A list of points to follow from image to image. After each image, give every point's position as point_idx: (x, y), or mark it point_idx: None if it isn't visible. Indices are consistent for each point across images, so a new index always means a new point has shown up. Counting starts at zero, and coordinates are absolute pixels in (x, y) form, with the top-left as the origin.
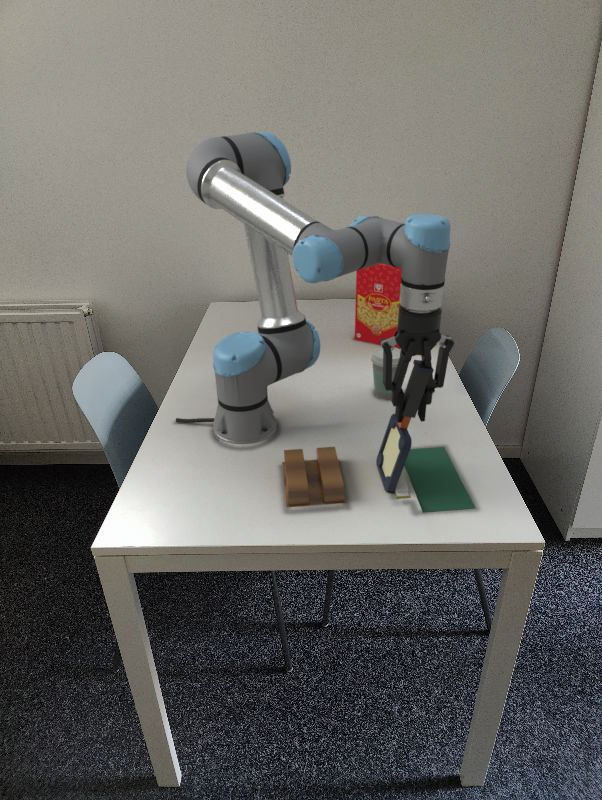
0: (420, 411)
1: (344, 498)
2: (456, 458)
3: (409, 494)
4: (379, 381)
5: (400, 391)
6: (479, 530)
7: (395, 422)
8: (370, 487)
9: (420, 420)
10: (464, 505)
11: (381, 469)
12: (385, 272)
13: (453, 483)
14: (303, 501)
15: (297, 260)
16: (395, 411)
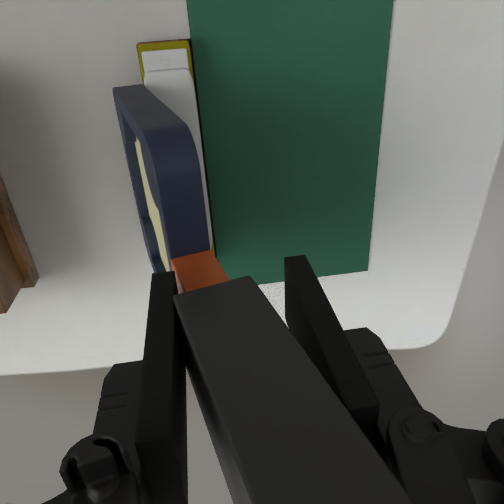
0: (295, 327)
1: (23, 271)
2: (410, 44)
3: (213, 251)
4: None
5: (158, 494)
6: (346, 328)
7: (162, 227)
8: (101, 196)
9: (285, 311)
10: (345, 264)
11: (131, 155)
12: None
13: (350, 182)
14: None
15: None
16: (151, 292)
